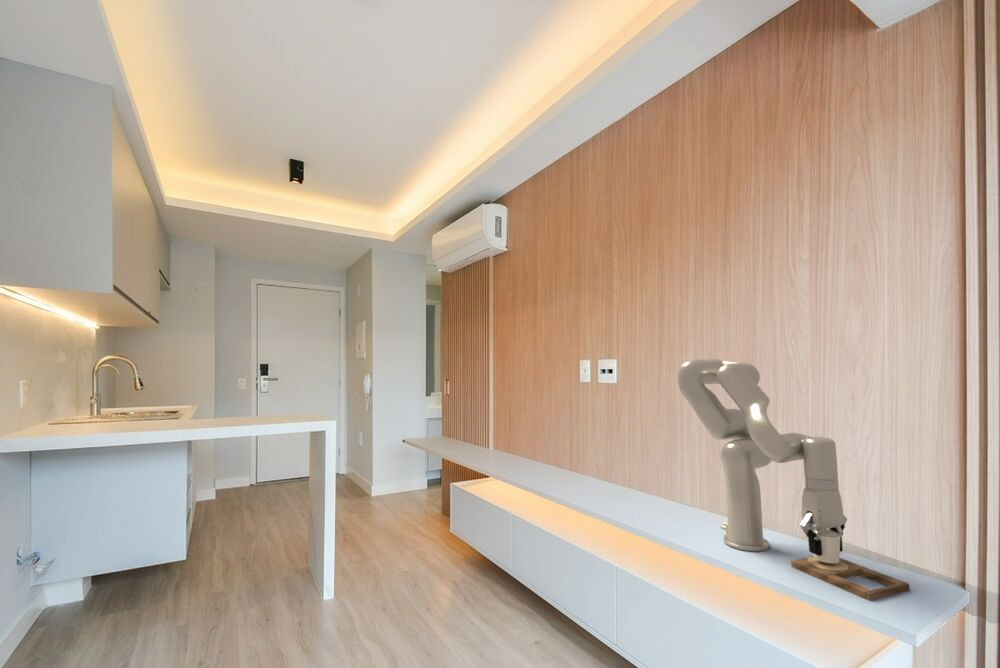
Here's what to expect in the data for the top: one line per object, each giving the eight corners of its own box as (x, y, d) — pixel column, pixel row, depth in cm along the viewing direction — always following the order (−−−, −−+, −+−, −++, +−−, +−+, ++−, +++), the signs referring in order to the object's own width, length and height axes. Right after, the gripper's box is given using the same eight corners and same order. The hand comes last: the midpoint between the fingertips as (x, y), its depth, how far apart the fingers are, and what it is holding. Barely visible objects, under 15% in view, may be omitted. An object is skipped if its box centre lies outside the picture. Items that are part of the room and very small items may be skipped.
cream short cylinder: (836, 566, 121) (834, 538, 121) (806, 558, 126) (804, 531, 127) (846, 559, 125) (844, 532, 125) (817, 551, 130) (815, 525, 131)
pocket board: (791, 566, 128) (790, 559, 128) (828, 558, 132) (828, 552, 132) (869, 600, 109) (868, 592, 109) (909, 590, 113) (909, 582, 113)
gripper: (830, 477, 133) (835, 542, 132) (784, 483, 128) (788, 551, 126) (858, 483, 126) (863, 552, 125) (811, 490, 121) (815, 562, 119)
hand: (825, 551), depth 126 cm, fingers closed on cream short cylinder, 6 cm apart
